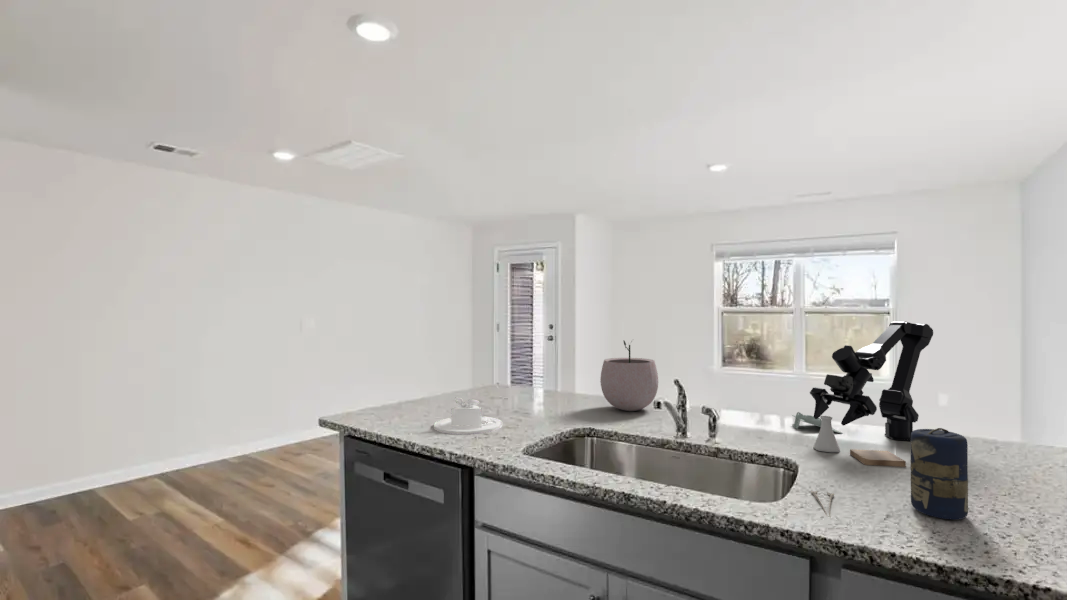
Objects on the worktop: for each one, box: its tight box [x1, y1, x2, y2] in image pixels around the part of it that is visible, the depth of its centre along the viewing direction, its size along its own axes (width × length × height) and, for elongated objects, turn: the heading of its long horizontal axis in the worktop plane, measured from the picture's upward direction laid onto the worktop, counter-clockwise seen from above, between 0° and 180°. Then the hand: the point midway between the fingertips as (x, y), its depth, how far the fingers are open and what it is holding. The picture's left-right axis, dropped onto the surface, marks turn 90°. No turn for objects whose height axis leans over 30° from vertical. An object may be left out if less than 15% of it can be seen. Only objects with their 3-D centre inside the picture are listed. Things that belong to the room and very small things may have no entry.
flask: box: [813, 415, 841, 453], centre depth 156 cm, size 7×7×10 cm
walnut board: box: [849, 448, 907, 468], centre depth 146 cm, size 10×10×2 cm
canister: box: [909, 427, 969, 520], centre depth 109 cm, size 10×10×18 cm
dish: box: [433, 396, 503, 435], centre depth 190 cm, size 25×25×11 cm
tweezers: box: [810, 490, 835, 519], centre depth 112 cm, size 17×5×2 cm, turn 156°
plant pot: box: [599, 340, 659, 412], centre depth 217 cm, size 24×24×30 cm
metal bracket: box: [791, 411, 844, 435], centre depth 183 cm, size 14×6×15 cm
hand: (828, 421), depth 157 cm, fingers open, 9 cm apart
